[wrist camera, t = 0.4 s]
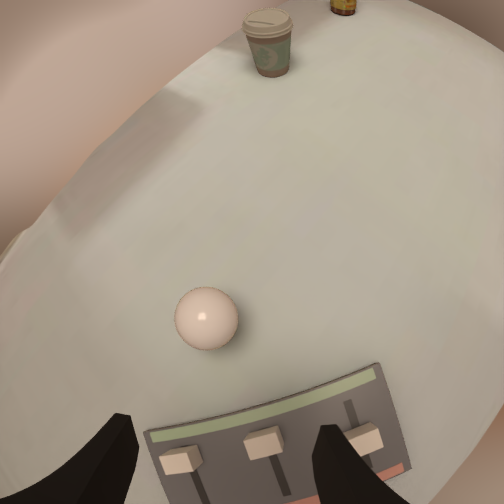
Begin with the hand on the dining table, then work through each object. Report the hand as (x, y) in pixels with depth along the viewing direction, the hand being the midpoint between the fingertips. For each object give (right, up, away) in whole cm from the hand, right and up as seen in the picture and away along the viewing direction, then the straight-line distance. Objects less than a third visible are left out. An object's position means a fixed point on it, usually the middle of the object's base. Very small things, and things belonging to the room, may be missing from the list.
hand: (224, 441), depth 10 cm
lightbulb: (-2, -2, +28) cm, 28 cm away
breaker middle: (+3, -14, +21) cm, 26 cm away
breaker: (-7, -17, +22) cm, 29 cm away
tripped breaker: (+13, -14, +20) cm, 28 cm away
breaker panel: (+4, -18, +22) cm, 28 cm away
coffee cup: (+5, +41, +42) cm, 59 cm away
